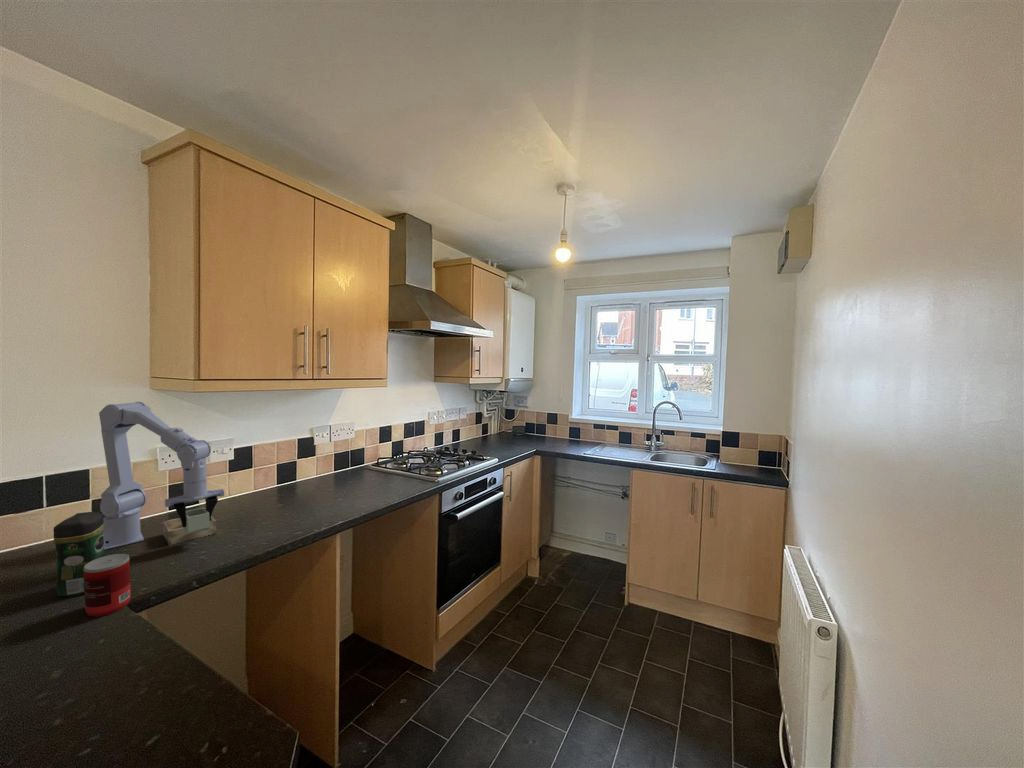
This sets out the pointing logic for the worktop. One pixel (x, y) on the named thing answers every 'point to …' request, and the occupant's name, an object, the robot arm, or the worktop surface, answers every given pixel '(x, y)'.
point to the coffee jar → (77, 550)
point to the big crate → (177, 533)
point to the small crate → (197, 520)
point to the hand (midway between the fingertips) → (196, 523)
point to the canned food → (107, 584)
